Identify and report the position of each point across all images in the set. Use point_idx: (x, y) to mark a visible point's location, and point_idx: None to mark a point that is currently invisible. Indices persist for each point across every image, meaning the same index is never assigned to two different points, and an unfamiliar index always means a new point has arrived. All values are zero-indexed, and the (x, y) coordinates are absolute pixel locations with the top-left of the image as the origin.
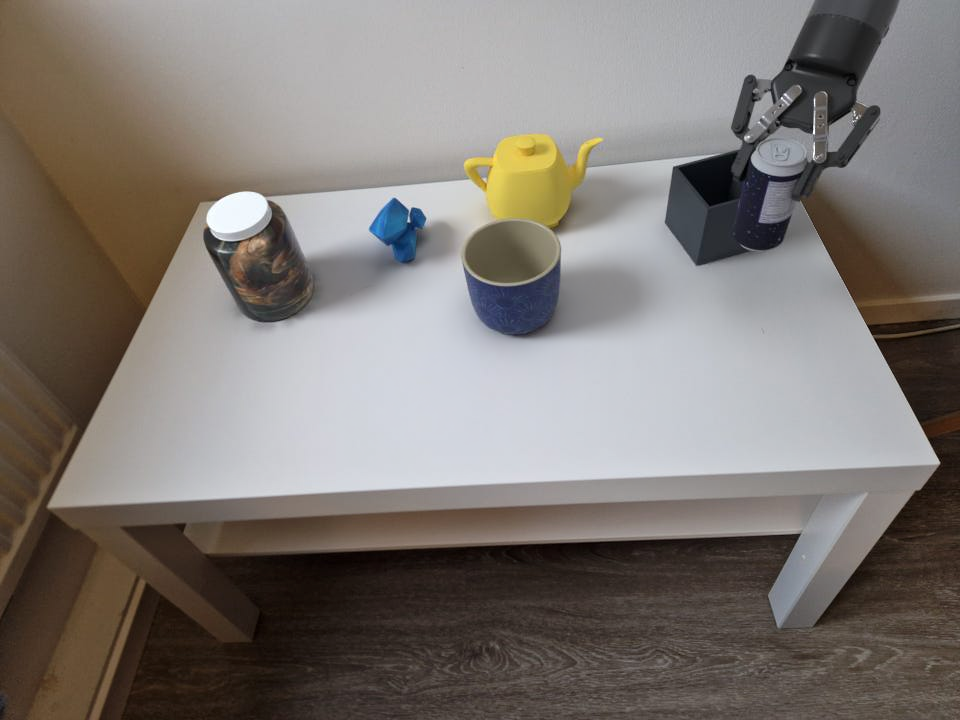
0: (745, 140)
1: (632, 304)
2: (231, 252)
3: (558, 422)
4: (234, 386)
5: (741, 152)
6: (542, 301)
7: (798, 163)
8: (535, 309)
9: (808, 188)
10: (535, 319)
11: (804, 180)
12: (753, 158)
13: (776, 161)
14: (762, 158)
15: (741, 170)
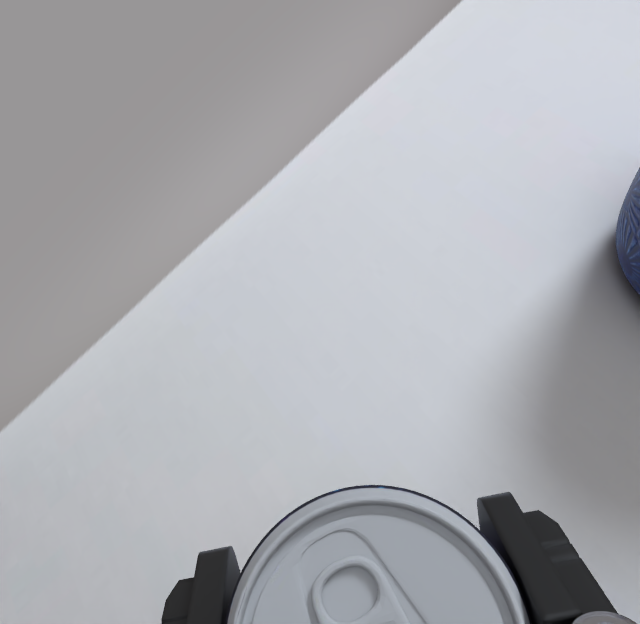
0: (613, 613)
1: (553, 448)
2: None
3: (418, 161)
4: None
5: (580, 584)
6: (638, 196)
7: (237, 604)
8: (632, 190)
9: (177, 609)
10: (622, 210)
11: (199, 609)
12: (477, 539)
13: (344, 546)
14: (410, 501)
15: (497, 515)
